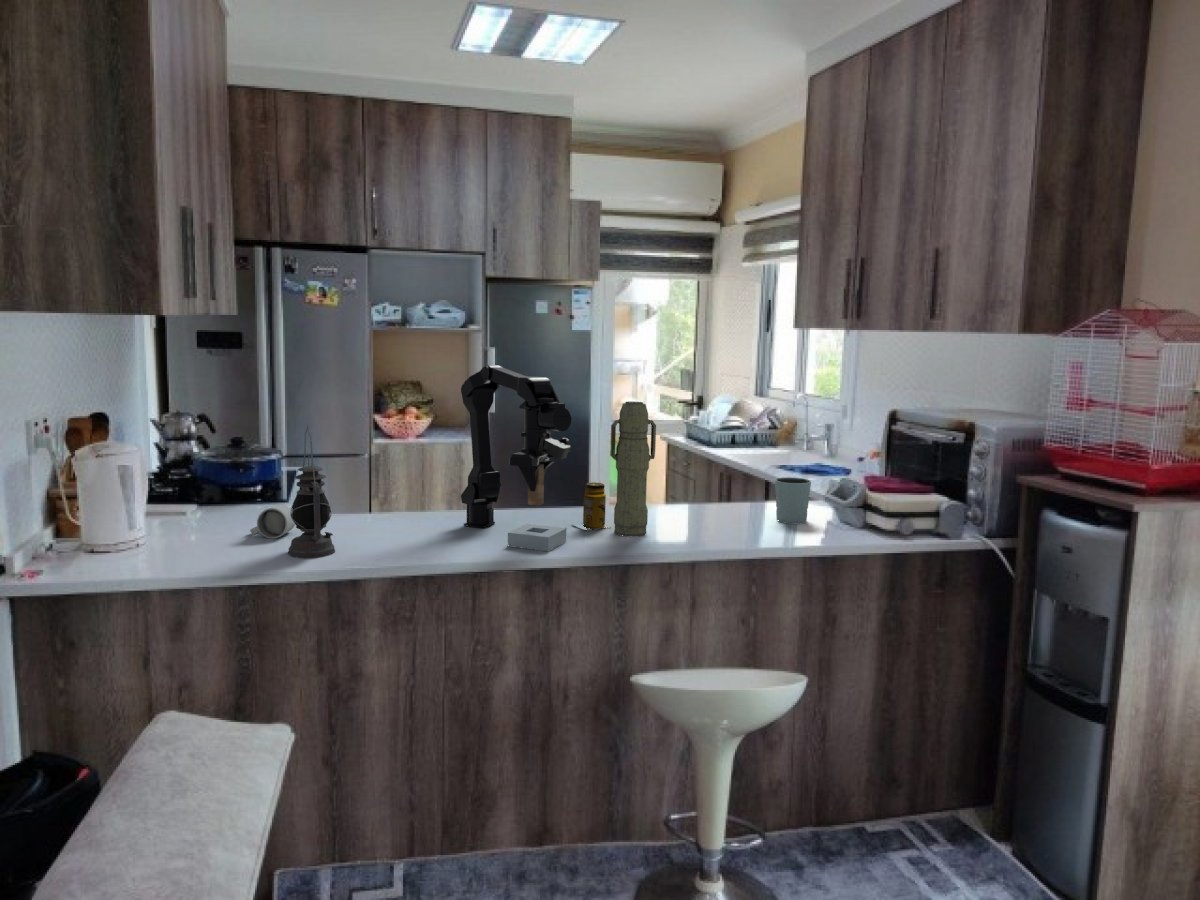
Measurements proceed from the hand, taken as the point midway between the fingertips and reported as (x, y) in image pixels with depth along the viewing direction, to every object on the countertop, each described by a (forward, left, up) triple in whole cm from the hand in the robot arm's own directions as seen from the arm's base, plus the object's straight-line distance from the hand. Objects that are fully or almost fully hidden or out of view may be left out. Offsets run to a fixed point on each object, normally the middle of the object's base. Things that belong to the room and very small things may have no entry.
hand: (535, 490), depth 218 cm
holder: (+1, -1, -13) cm, 13 cm away
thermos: (+18, +21, -14) cm, 31 cm away
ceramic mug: (-63, -23, -14) cm, 68 cm away
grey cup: (+55, +57, -14) cm, 80 cm away
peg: (0, 0, -4) cm, 4 cm away
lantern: (-43, -32, -14) cm, 55 cm away
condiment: (+6, +23, -14) cm, 27 cm away
